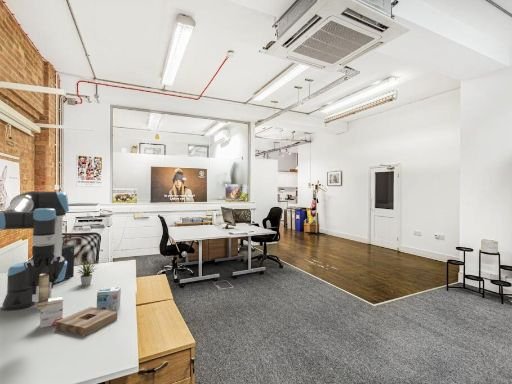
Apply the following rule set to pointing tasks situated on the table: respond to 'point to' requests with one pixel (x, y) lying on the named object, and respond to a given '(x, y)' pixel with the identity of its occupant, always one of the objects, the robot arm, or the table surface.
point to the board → (86, 321)
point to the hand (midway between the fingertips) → (41, 299)
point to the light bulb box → (109, 298)
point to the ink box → (51, 312)
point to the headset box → (68, 261)
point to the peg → (43, 291)
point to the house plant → (86, 274)
